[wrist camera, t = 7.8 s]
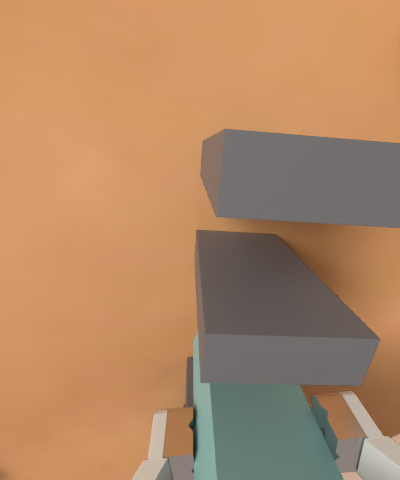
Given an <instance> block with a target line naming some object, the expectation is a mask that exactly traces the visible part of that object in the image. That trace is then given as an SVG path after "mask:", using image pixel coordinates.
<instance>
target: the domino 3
mask: <svg viewBox="0 0 400 480" xmlns="http://www.w3.org/2000/svg"><path fill="white" fill-rule="evenodd" d="M193 397H194V459H195V463H194V480H343V478H342V475H341V473H340V471H339V469H338V467H337V464H336V462H335V461H334V459H333V457H332V454H331V452H330V450H329V448H328V446H327V444H326V442H325V439H324V436H323V434H322V432H321V430H320V427H319V426H318V424H317V422H316V420H315V418H314V415H313V413H312V411H311V408H310V406H309V404H308V401H307V399H306V397H305V395H304V393H303V390H302V388H301V386H300V385H284V384H230V383H200V364H199V342H198V333H197V335H196V337H195V339H194V341H193Z"/></svg>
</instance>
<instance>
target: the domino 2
mask: <svg viewBox="0 0 400 480" xmlns="http://www.w3.org/2000/svg"><path fill="white" fill-rule="evenodd" d="M195 275H196V298H197V320H198V342H199V364H200V383H230V384H284V385H338V386H361V385H362V383H363V380H364V378H365V375H366V373H367V370H368V368H369V366H370V363H371V361H372V358H373V356H374V353H375V351H376V349H377V346H378V344H379V341H380V338H379V337H378V336H377V335H376V334H375V333H374V332H373V331H372V330H371V329H370V328H369V327H368V326H367V325H366V324H365V323H364V322H363V321H362V320H361V319H360V318H359V317H358V316H357V315H356V314H355V313H354V312H353V311H352V310H351V309H350V308H349V307H348V306H347V305H346V304H345V303H344V302H343V301H342V300H341V299H340V298H339V297H338V296H337V295H336V294H335V293H334V292H333V291H332V290H331V289H330V288H329V287H328V286H327V285H326V284H325V283H324V282H323V281H322V280H321V279H320V278H319V277H318V276H317V275H316V274H315V273H314V272H313V271H312V270H311V269H310V268H309V267H308V266H307V265H306V264H305V263H304V262H303V261H302V260H301V259H300V258H299V257H298V256H297V255H296V254H295V253H294V252H293V251H292V250H291V249H290V248H289V247H288V246H287V245H286V244H285V243H284V242H283V241H282V240H281V239H280V238H279V237H278V236H277V235H276V234H260V233H243V232H225V231H207V230H197V231H196V245H195Z"/></svg>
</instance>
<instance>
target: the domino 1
mask: <svg viewBox="0 0 400 480" xmlns="http://www.w3.org/2000/svg"><path fill="white" fill-rule="evenodd" d="M201 178H202V180H203V183H204V186H205V188H206V191H207V194H208V196H209V199H210V201H211V204H212V207H213V209H214V212H215V215H216V217H225V218H242V219H258V220H275V221H291V222H308V223H324V224H340V225H357V226H373V227H390V228H400V143H389V142H377V141H365V140H353V139H341V138H328V137H316V136H304V135H292V134H280V133H268V132H256V131H244V130H232V129H224V130H222V131H220V132H218V133H217V134H215V135H213V136H211V137H209V138H207V139H206V140H204V141H203V147H202V161H201Z"/></svg>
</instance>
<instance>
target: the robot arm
mask: <svg viewBox="0 0 400 480" xmlns="http://www.w3.org/2000/svg"><path fill="white" fill-rule="evenodd" d="M311 402H312V404H313V407H312V408H311V411H312V413H313V415H314V418H315V420H316V422H317V424H318V426H319V427H320V430H321V432H322V434H323V436H324V439H325V442H326V444H327V446H328V448H329V450H330V452H331V454H332V457H333V459H334V461H335V462H336V464H337V467H338V469H339V471H340V473H341V472H354V471H357V474H359V476H360V477H361V478H362V479H363V480H400V445H399V444H398V443H397V442H395V441H394V440H393V439H391V438H390V437H389V436H383V434H382V433H381V431H380V430H379V428H378V427H377V425H376V424H375V423H374V421H373V420H372V418H371V417H370V415H369V414H368V412H367V411H366V409H365V408H364V406H363V405H362V403H361V402H360V400H359V399H358V397H357V396H356V394H355V393H354V392H352V391H343V392H331V393H323V394H314V395H312V398H311ZM194 463H195V459H194V407H186V408H174V409H161V410H156V411H155V413H154V418H153V425H152V432H151V439H150V446H149V453H148V460H143V462H142V463H141V465H140V467H139V468H138V470H137V471H136V473H135V474H134V476H133V477H132V479H131V480H194Z"/></svg>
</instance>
